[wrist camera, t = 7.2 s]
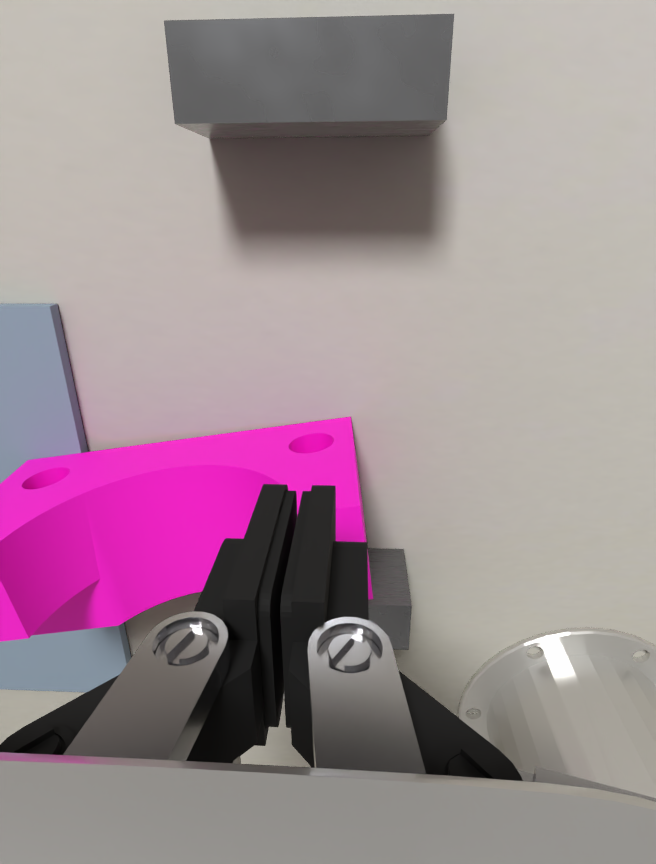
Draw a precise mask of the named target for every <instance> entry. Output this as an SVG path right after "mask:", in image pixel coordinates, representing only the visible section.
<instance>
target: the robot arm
mask: <svg viewBox="0 0 656 864" xmlns="http://www.w3.org/2000/svg"><path fill="white" fill-rule="evenodd" d="M536 646H537V647H541V650H540V651H539V652H538V653H536V654H529V653H527V651H528V649H530V648H531V647H536ZM638 650H646V651H647V652H646V653H645V655H643V656H641V657H633V654H634V653H635V652H637V651H638ZM283 696H285V715H286V727H288V728H291V735H292V745H293V747H294V748H295V749H296V750H297V751H298V752H299V753H300V754H301V756H302V757H303V758H304V759H305V760H306V761H307V762H308V763H309V764H310V766H311V768H308V767H290V766H271V765H252V764H241V758H240V756H241V755H242V754H243V753H245V752H246V751H247V750H249V749H250V748H251V747H253V746H254V745H259V746H265V745H266V739H267V733H268V728H269V727H278V725H279V721H280V715H281V709H282V702H283ZM473 708H475V709H479V712H477V713H476V714H469V713H467V711H468V710H469V709H473ZM0 864H656V646H655V645H654V644H652V643H651V642H648V641H646V640H644V639H642V638H640V637H637V636H635V635H632V634H628V633H625V632H621V631H617V630H612V629H603V628H590V627H586V628H568V629H561V630H555V631H550V632H545V633H541V634H538V635H535V636H532V637H529V638H526V639H524V640H521V641H519V642H517V643H515V644H513V645H511V646H509V647H507V648H505V649H503V650H502V651H500V652H499V653H497V654H496V655H494V656H493V657H492V658H490V659H489V660H488V661H487V662H485V663H484V664H483V665H482V666H481V667H480V668H479V669H478V670H477V672H476V673H475V674H474V675H473V676H472V677H471V679H470V681H469V682H468V684H467V685H466V687H465V689H464V691H463V694H462V696H461V699H460V703H459V710H458V717H457V716H456V715H454V714H453V713H452V712H450V711H449V710H448V709H447V708H445V707H444V706H443V705H442V704H440V703H439V702H438V701H436V700H435V699H434V698H433V697H431V696H430V695H429V694H428V693H426V692H425V691H424V690H423V689H421V688H420V687H419V686H417V685H416V684H415V683H414V682H412V681H411V680H410V679H409V678H407V677H406V676H405V675H403V674H402V673H401V672H400V671H398V667H397V663H396V659H395V656H394V652H393V648H392V645H391V642H390V640H389V638H388V636H387V634H386V633H385V632H384V631H383V630H382V629H381V628H380V627H379V626H378V625H376V624H374V623H372V622H370V621H369V608H368V555H367V542H346V541H336V487H335V486H333V485H312V488H311V491H303V492H302V497H301V501H300V506H299V511H298V516H297V494H296V491H288V486H287V484H263V486H262V488H261V491H260V494H259V497H258V500H257V503H256V505H255V508H254V511H253V514H252V517H251V519H250V522H249V525H248V528H247V531H246V533H245V536H244V539H239V538H226V539H224V541H223V543H222V545H221V547H220V550H219V552H218V555H217V557H216V559H215V562H214V564H213V567H212V569H211V571H210V574H209V576H208V579H207V581H206V583H205V586H204V588H203V591H202V593H201V595H200V598H199V600H198V603H197V605H196V607H195V610H194V611H191V612H185V613H180V614H177V615H174V616H172V617H169V618H167V619H165V620H164V621H162V622H161V623H159V624H158V625H156V626H155V627H154V628H153V630H152V631H151V632H150V633H149V634H148V635H147V637H146V638H145V639H144V641H143V642H142V644H141V645H140V646H139V648H138V649H137V651H136V652H135V654H134V655H133V656H132V658H131V659H130V661H129V662H128V663H127V665H126V666H125V668H124V669H123V670H122V672H121V673H120V674H119V675H118V676H116V677H114V678H112V679H110V680H108V681H107V682H105V683H103V684H101V685H99V686H98V687H96V688H94V689H92V690H90V691H88V692H87V693H85V694H83V695H81V696H79V697H78V698H76V699H74V700H72V701H70V702H68V703H67V704H65V705H63V706H61V707H59V708H57V709H56V710H54V711H52V712H50V713H48V714H47V715H45V716H43V717H41V718H39V719H37V720H36V721H34V722H32V723H30V724H28V725H26V726H25V727H23V728H21V729H20V730H18V731H17V732H15V733H14V734H12V735H11V736H9V737H8V738H7V739H6V740H5V741H4V742H3V743H2V744H1V745H0Z"/></svg>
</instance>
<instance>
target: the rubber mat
mask: <svg viewBox="0 0 656 864" xmlns="http://www.w3.org/2000/svg"><path fill="white" fill-rule="evenodd" d="M84 452H88V448H87V444H86V439H85V434H84V429H83V424H82V420H81V415H80V410H79V405H78V401H77V396H76V391H75V386H74V381H73V377H72V372H71V367H70V362H69V357H68V353H67V348H66V343H65V338H64V334H63V329H62V324H61V319H60V314H59V310H58V305H57V304H0V484H1V483H2V482H3V481H4V480H5V479H6V478H8V477H9V476H10V475H11V474H12V473H13V472H15V471H16V470H17V469H18V468H19V467H20V466H21V465H23V464H24V463H25V462H26V461H27V460H32V459H40V458H47V457H55V456H62V455H70V454H77V453H84ZM130 659H131V654H130V649H129V645H128V640H127V635H126V630H125V625H124V623H122V624H120V625H119V626H111V627H102V628H93V629H84V630H76V631H67V632H58V633H49V634H41V635H32V636H31V637H30V638H28V639H19V640H10V641H2V642H0V689H10V690H38V691H66V692H88V691H90V690H92V689H94V688H96V687H98V686H99V685H101V684H103V683H105V682H107V681H108V680H110V679H112V678H114V677H116V676H118V675H119V674H120V673H121V672H122V670H123V669H124V668H125V666H126V665H127V663H128V662H129V661H130Z"/></svg>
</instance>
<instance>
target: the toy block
mask: <svg viewBox="0 0 656 864" xmlns="http://www.w3.org/2000/svg"><path fill="white" fill-rule="evenodd" d="M263 484H287V486H288V491H296V494H297V516H298V511H299V506H300V501H301V497H302V492H303V491H311V488H312V485H333V486H335V487H336V541H346V542H367V540H366V531H365V522H364V513H363V505H362V496H361V487H360V480H359V473H358V466H357V458H356V451H355V444H354V437H353V429H352V422H351V417H345V418H337V419H330V420H323V421H315V422H308V423H300V424H293V425H285V426H278V427H270V428H263V429H256V430H248V431H241V432H233V433H226V434H218V435H211V436H204V437H196V438H189V439H181V440H174V441H166V442H159V443H151V444H144V445H137V446H129V447H122V448H114V449H107V450H99V451H92V452H84V453H77V454H70V455H62V456H55V457H47V458H40V459H32V460H27V461H26V462H25V463H24V464H23V465H21V466H20V467H19V468H18V469H17V470H16V471H15V472H13V473H12V474H11V475H10V476H9V477H8V478H6V479H5V480H4V481H3V482H2V483H1V484H0V642H2V641H10V640H19V639H28V638H30V637H31V636H32V635H41V634H49V633H58V632H67V631H76V630H84V629H93V628H102V627H111V626H119V625H120V624H122V623H124V622H125V621H127V620H128V619H130V618H132V617H134V616H135V615H137V614H139V613H141V612H143V611H145V610H147V609H149V608H151V607H154V606H156V605H158V604H161V603H163V602H166V601H168V600H171V599H175V598H178V597H181V596H184V595H188V594H192V593H197V592H202V591H203V588H204V586H205V583H206V581H207V579H208V576H209V574H210V571H211V569H212V567H213V564H214V562H215V559H216V557H217V555H218V552H219V550H220V547H221V545H222V543H223V541H224V539H226V538H239V539H244V536H245V533H246V531H247V528H248V525H249V522H250V519H251V517H252V514H253V511H254V508H255V505H256V503H257V500H258V497H259V494H260V491H261V488H262V486H263ZM367 555H368V549H367ZM369 599H373V592H372V584H371V575H370V566H369V557H368V600H369Z"/></svg>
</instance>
